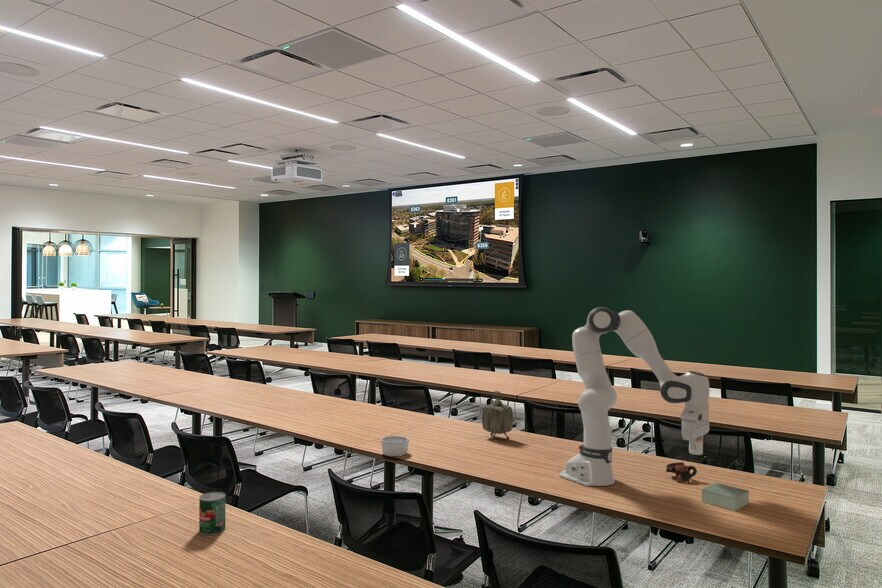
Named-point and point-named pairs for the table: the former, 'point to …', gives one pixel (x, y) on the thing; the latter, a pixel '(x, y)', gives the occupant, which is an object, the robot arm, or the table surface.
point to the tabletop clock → (497, 417)
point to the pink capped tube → (697, 447)
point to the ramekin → (394, 445)
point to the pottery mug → (681, 471)
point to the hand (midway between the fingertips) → (695, 447)
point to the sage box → (725, 496)
